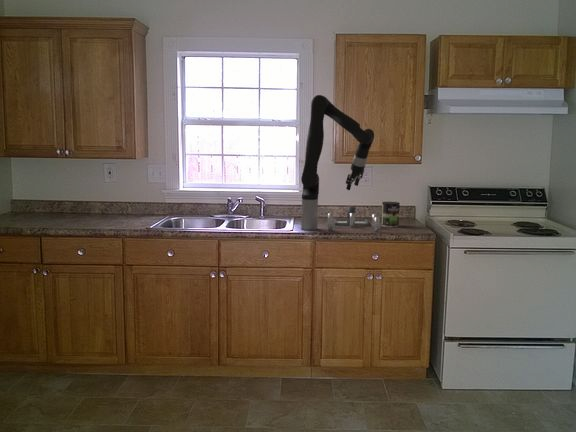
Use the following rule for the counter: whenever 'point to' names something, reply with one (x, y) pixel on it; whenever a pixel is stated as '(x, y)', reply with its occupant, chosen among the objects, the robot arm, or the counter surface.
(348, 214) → the black standoff
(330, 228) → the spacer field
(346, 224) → the tray
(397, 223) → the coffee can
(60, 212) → the counter surface
